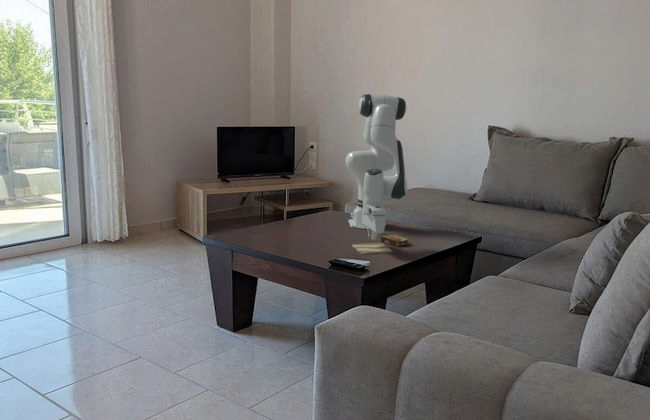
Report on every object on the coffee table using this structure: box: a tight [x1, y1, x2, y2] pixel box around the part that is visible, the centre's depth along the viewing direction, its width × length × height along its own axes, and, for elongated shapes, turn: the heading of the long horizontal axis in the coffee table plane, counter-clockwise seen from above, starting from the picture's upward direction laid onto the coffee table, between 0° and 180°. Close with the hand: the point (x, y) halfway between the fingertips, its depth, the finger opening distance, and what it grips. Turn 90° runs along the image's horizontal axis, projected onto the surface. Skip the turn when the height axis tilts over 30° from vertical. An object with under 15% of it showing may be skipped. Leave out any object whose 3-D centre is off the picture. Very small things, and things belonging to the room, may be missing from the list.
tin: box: [379, 233, 409, 247], centre depth 269 cm, size 15×3×8 cm
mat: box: [351, 242, 394, 255], centre depth 258 cm, size 15×14×1 cm
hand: (372, 238), depth 257 cm, fingers open, 3 cm apart
